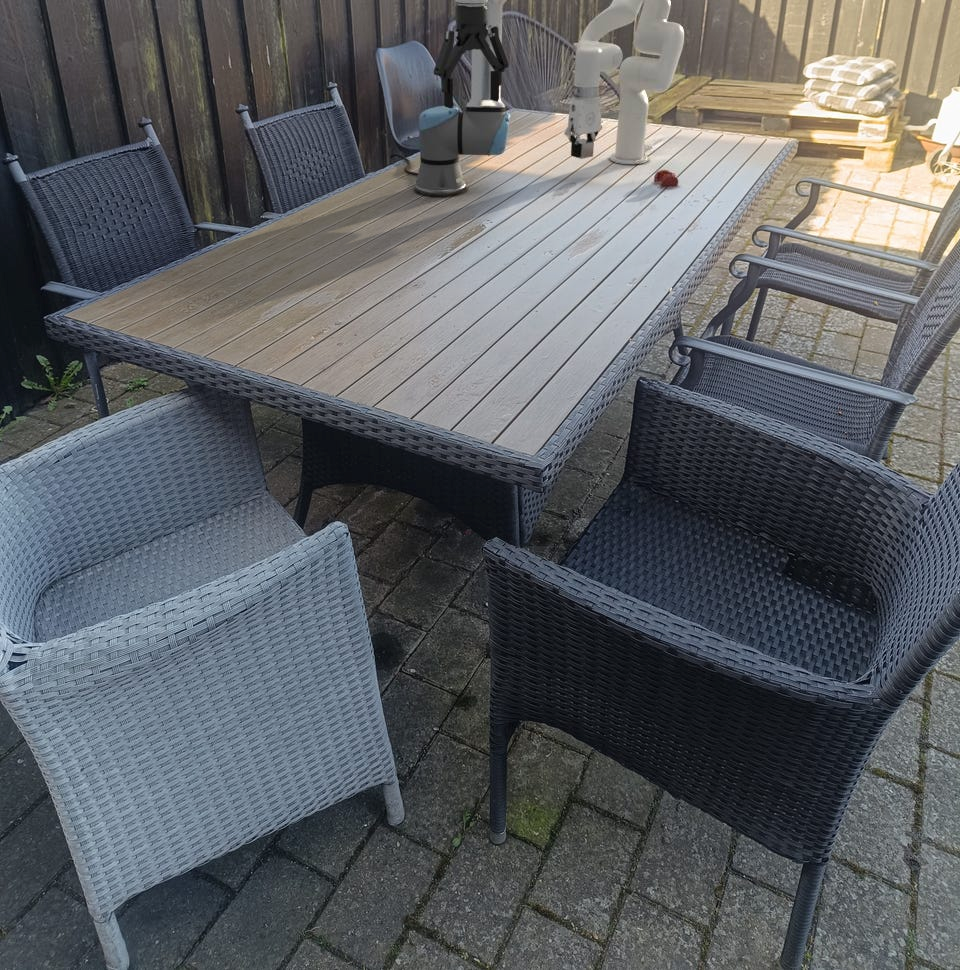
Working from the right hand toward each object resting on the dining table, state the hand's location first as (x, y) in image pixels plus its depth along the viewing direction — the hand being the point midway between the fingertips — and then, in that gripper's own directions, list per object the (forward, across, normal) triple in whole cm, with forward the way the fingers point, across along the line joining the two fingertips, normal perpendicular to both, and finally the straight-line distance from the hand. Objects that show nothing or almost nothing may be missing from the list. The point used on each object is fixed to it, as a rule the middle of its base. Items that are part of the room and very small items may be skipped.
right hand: (581, 154), depth 264 cm
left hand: (-25, -59, -23) cm, 68 cm away
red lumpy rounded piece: (+7, +17, -21) cm, 28 cm away
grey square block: (0, 0, 0) cm, 0 cm away
